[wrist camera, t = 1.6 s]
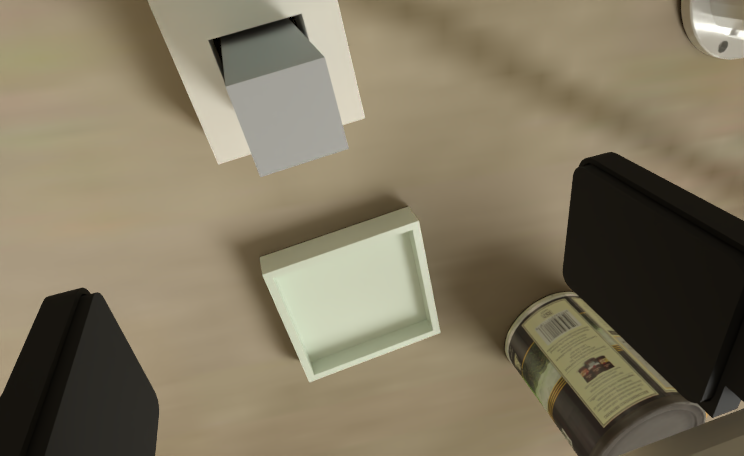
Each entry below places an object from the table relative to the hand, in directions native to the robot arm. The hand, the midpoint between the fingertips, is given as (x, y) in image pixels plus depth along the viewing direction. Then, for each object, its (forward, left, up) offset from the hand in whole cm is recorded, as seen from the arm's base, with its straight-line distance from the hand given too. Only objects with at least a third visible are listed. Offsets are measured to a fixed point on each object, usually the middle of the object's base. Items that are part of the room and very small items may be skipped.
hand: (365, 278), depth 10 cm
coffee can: (-19, +34, -24) cm, 46 cm away
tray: (-1, +20, -24) cm, 31 cm away
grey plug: (0, +1, -24) cm, 24 cm away
